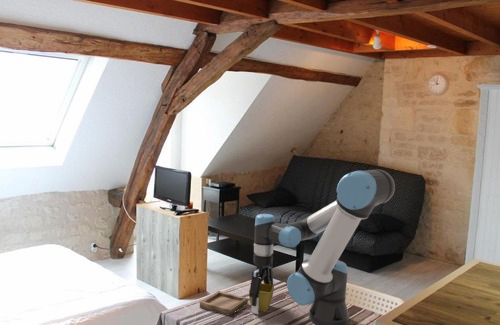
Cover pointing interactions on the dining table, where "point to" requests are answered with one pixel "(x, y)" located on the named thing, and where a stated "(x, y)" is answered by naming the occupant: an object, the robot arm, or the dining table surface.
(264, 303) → the flower pot
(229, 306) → the walnut tray
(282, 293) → the dining table surface
